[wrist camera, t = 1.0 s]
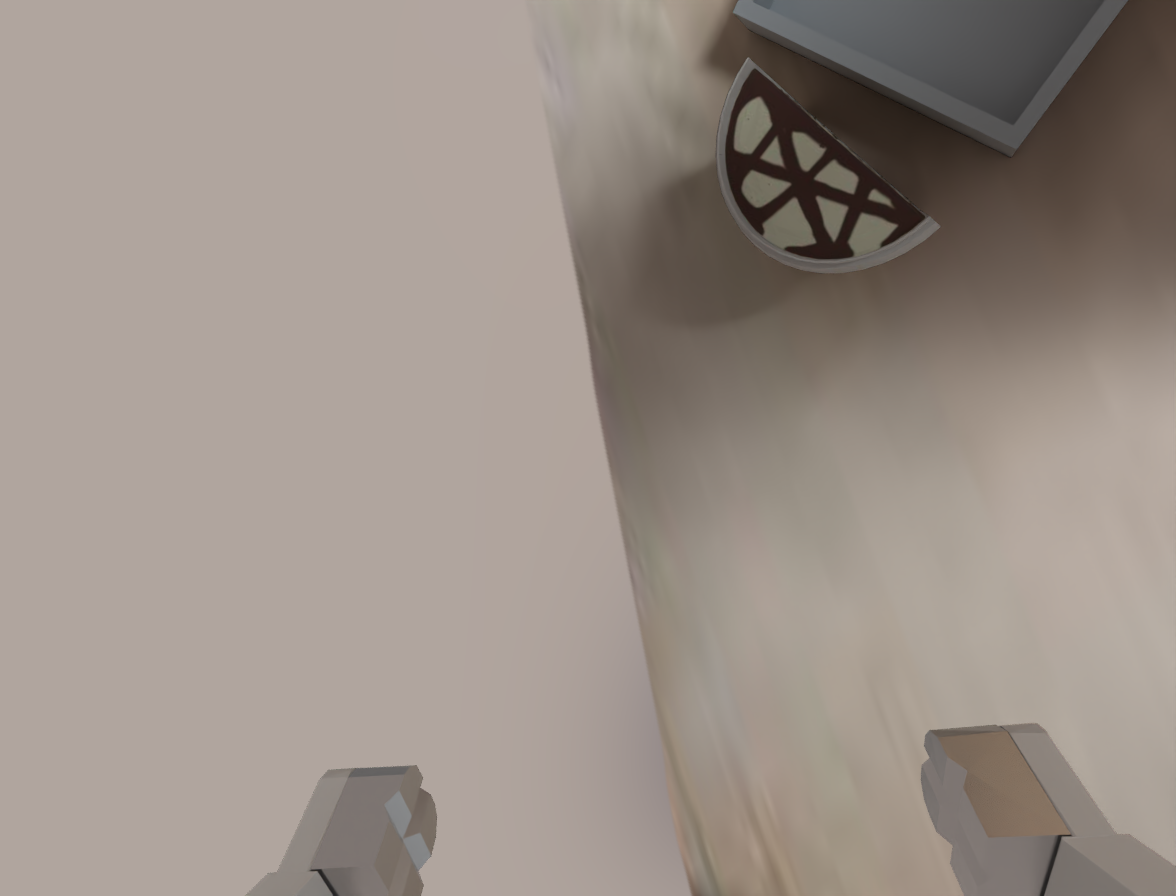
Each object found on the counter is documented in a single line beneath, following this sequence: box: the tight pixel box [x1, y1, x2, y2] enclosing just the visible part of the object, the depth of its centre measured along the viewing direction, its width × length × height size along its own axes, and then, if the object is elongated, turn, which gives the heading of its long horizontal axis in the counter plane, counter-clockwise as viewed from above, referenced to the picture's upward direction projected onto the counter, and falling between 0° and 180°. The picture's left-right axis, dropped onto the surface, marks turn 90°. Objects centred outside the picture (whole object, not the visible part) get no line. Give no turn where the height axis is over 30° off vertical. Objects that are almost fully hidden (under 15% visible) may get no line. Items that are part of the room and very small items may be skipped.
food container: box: [716, 57, 941, 273], centre depth 34 cm, size 12×6×10 cm, turn 50°
